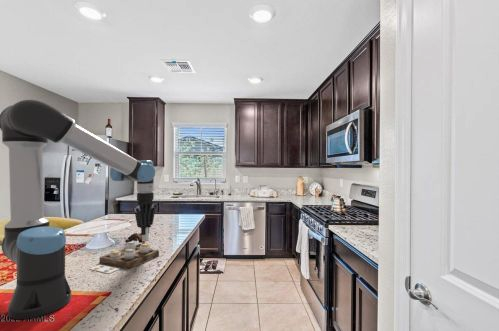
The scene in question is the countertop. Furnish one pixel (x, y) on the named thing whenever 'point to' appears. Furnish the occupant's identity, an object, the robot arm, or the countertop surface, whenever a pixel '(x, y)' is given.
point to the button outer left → (131, 245)
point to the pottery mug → (135, 238)
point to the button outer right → (145, 248)
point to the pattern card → (104, 269)
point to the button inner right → (129, 254)
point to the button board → (132, 262)
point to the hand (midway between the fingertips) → (145, 240)
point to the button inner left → (115, 254)
